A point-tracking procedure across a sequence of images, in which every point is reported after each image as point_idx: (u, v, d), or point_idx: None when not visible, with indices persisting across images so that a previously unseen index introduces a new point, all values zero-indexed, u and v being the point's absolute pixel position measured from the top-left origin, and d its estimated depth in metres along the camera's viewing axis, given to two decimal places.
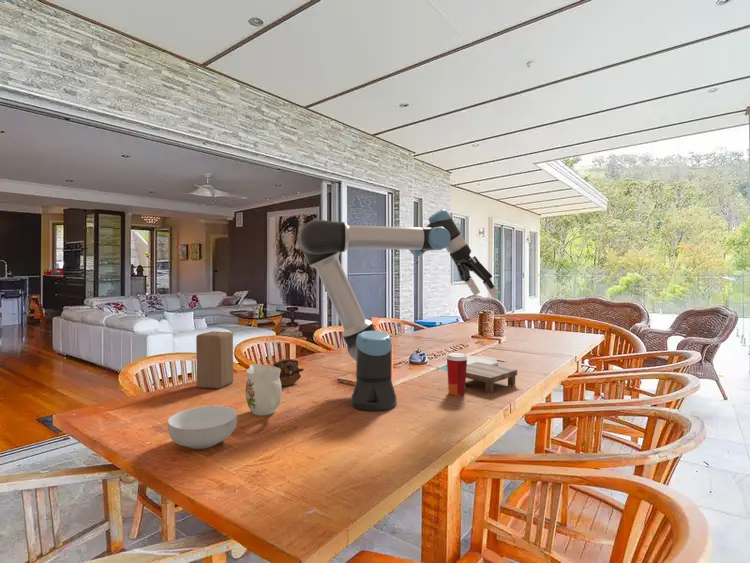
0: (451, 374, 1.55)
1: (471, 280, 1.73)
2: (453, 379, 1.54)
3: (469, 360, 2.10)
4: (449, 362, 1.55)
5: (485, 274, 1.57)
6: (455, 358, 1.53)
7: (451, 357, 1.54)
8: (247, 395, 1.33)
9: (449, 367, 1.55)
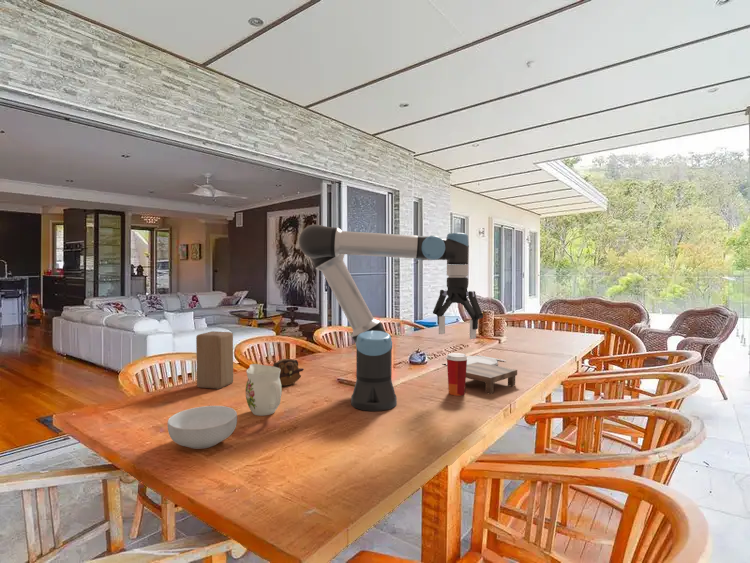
0: (451, 374, 1.55)
1: (443, 317, 1.62)
2: (453, 379, 1.54)
3: (469, 360, 2.10)
4: (449, 362, 1.55)
5: (478, 312, 1.49)
6: (455, 358, 1.53)
7: (451, 357, 1.54)
8: (247, 395, 1.33)
9: (449, 367, 1.55)
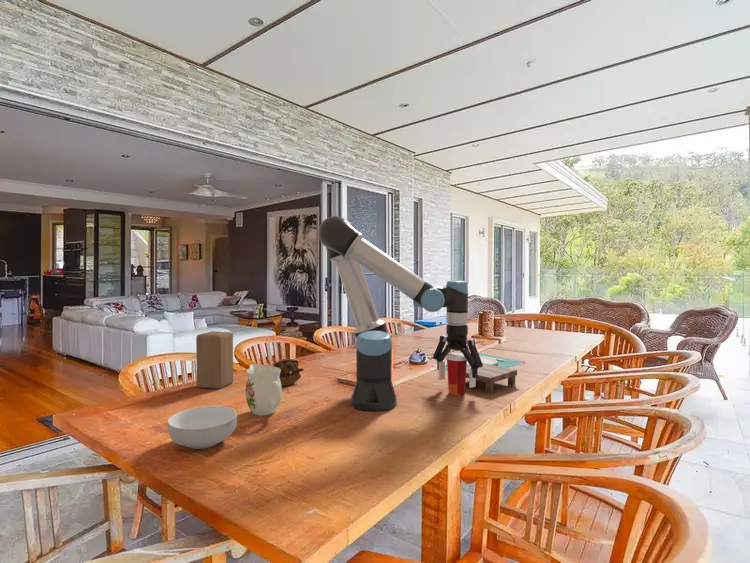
0: (451, 374, 1.55)
1: (443, 363, 1.62)
2: (453, 379, 1.54)
3: None
4: (449, 362, 1.55)
5: (478, 361, 1.49)
6: (455, 358, 1.53)
7: (451, 357, 1.54)
8: (247, 395, 1.33)
9: (449, 367, 1.55)
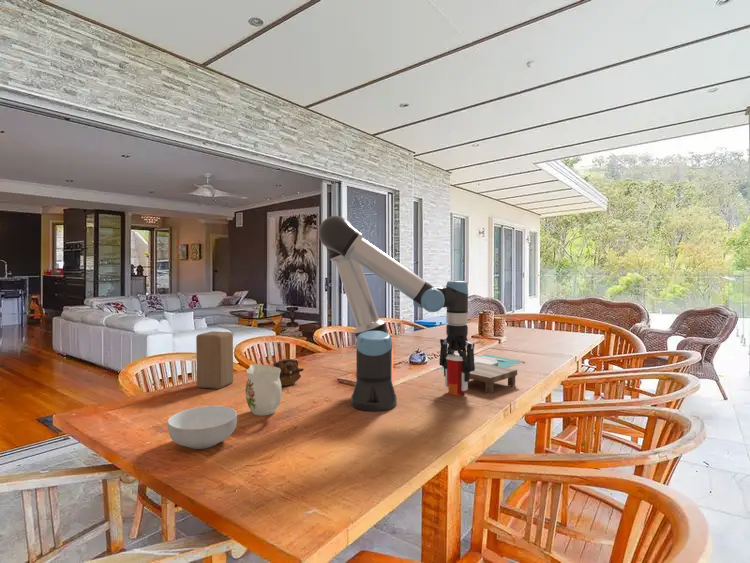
0: (451, 374, 1.55)
1: None
2: (453, 379, 1.54)
3: None
4: (450, 362, 1.55)
5: (471, 365, 1.52)
6: (455, 358, 1.53)
7: (451, 357, 1.54)
8: (247, 395, 1.33)
9: (449, 367, 1.55)
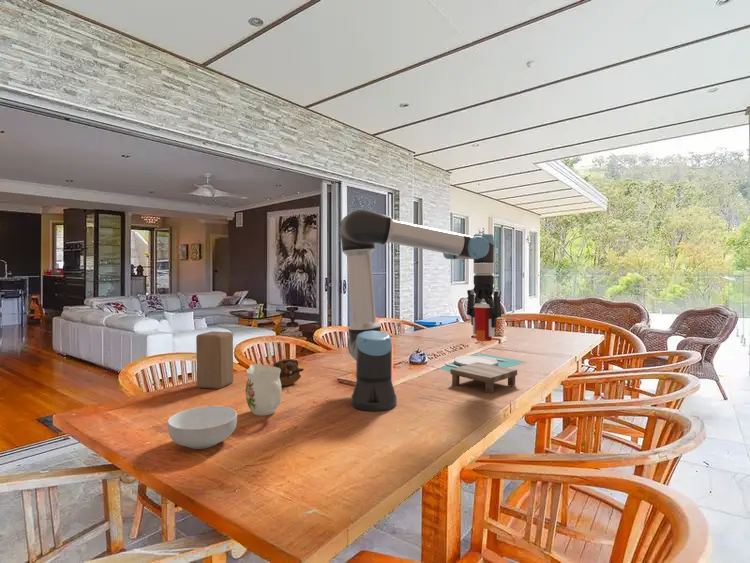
0: (479, 321, 1.65)
1: None
2: (480, 325, 1.64)
3: (469, 360, 2.10)
4: (477, 309, 1.65)
5: (498, 311, 1.61)
6: (483, 305, 1.63)
7: (479, 305, 1.64)
8: (247, 395, 1.33)
9: (477, 314, 1.65)
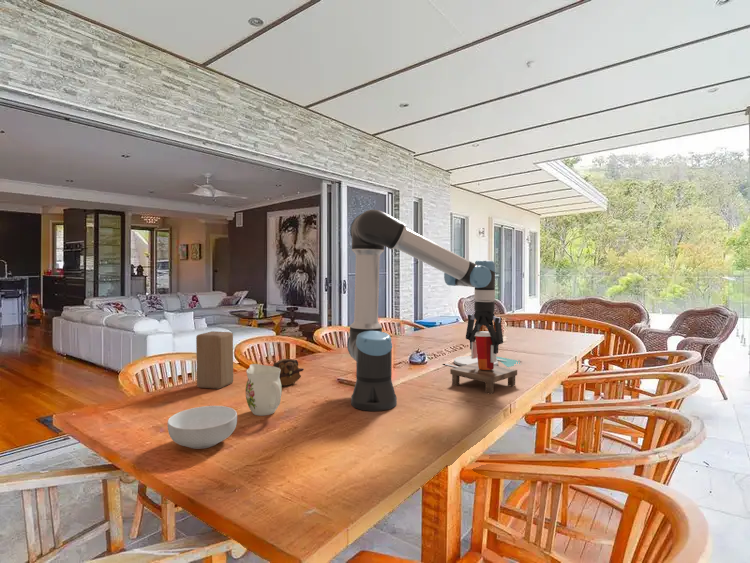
0: (480, 349, 1.65)
1: None
2: (482, 354, 1.65)
3: (469, 360, 2.10)
4: (478, 338, 1.66)
5: (500, 338, 1.62)
6: (483, 334, 1.65)
7: (479, 333, 1.65)
8: (247, 395, 1.33)
9: (478, 343, 1.66)
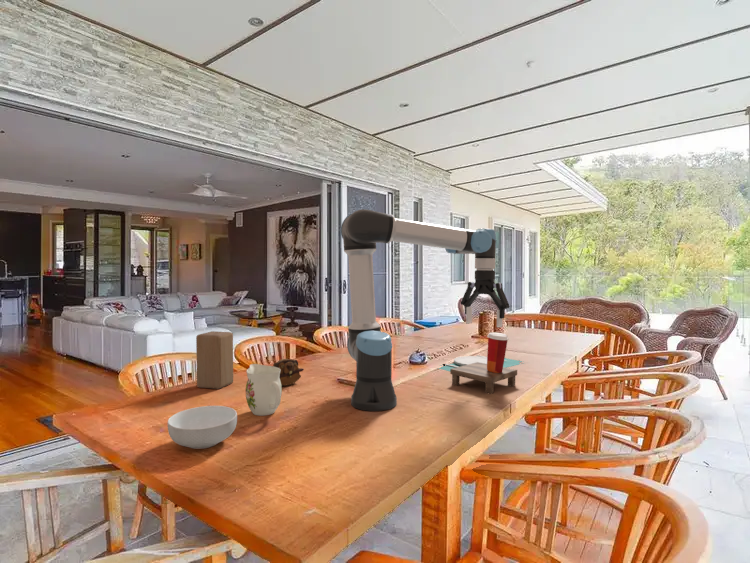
0: (491, 352, 1.62)
1: (471, 308, 1.73)
2: (492, 356, 1.62)
3: (469, 360, 2.10)
4: (490, 340, 1.62)
5: (505, 302, 1.60)
6: (496, 337, 1.61)
7: (492, 336, 1.62)
8: (247, 395, 1.33)
9: (489, 345, 1.63)
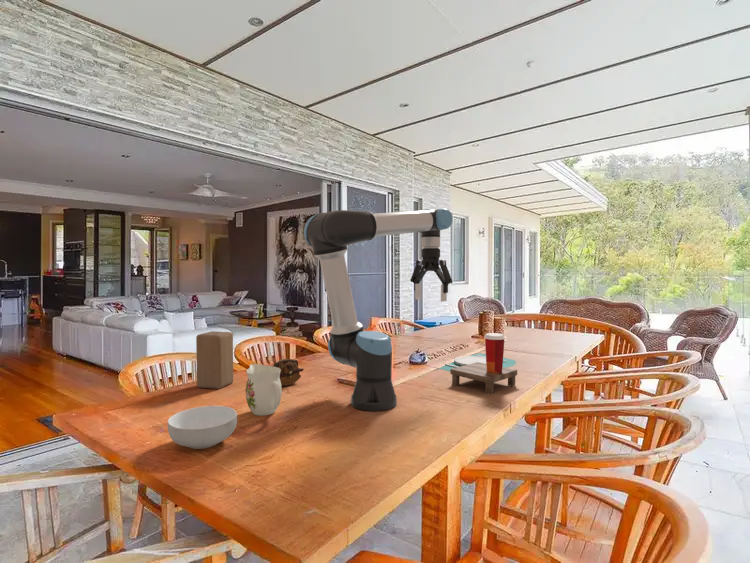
0: (489, 352, 1.63)
1: (419, 285, 1.83)
2: (490, 357, 1.63)
3: (469, 360, 2.10)
4: (487, 341, 1.63)
5: (448, 277, 1.71)
6: (492, 337, 1.62)
7: (489, 336, 1.63)
8: (247, 395, 1.33)
9: (487, 346, 1.64)
